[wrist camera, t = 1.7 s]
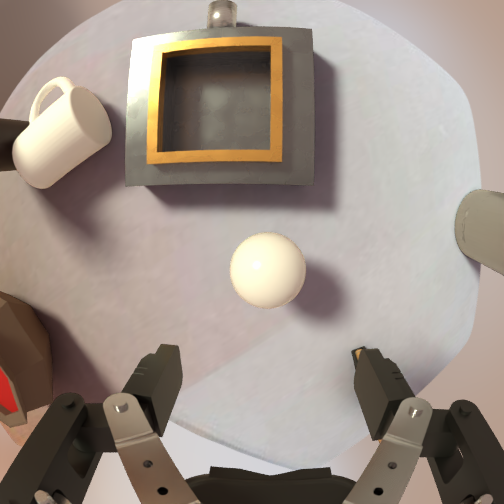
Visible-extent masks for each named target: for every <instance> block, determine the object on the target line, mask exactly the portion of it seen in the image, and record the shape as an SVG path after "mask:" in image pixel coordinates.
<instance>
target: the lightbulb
mask: <svg viewBox="0 0 504 504" xmlns="http://www.w3.org/2000/svg"><path fill="white" fill-rule="evenodd" d="M305 277H306V264H305V259H304V257H303V254H302V252H301V250H300V249H299V248H298V246H297V245H296V244H295V243H294V242H293V241H292V240H290V239H289V238H287V237H285V236H283V235H281V234H278V233H272V232H264V233H258V234H255V235H253V236H250V237H249V238H247V239H246V240H244V241H243V242H242V243H241V244H240V245H239V246H238V247H237V249H236V250H235V252H234V254H233V256H232V259H231V263H230V278H231V282H232V285H233V287H234V289H235V291H236V292H237V294H238V295H239V296H240V297H241V298H242V299H243V300H244V301H246V302H247V303H249V304H251V305H253V306H255V307H259V308H265V309H271V308H277V307H280V306H283V305H285V304H287V303H289V302H290V301H291V300H293V299H294V298H295V297H296V296H297V295H298V293H299V292H300V290H301V289H302V286H303V284H304V281H305Z"/></svg>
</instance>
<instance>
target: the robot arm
mask: <svg viewBox="0 0 504 504" xmlns="http://www.w3.org/2000/svg"><path fill="white" fill-rule="evenodd" d="M455 236H456V240H457V244H458V246H459V248H460V250H461V251H462V252H463V253H464V254H465V255H466V256H468V257H470V258H472V259H474V260H476V261H477V262H479V263H481V264H483V265H485V266H487V267H489V268H491V269H492V270H494V271H496V272H498V273H500V274H502V275H503V276H504V193H500V192H494V191H487V190H481V189H479V190H474V191H472V192H470V193H469V194H468V195H467V196H466V197H465V198H464V199H463V201H462V202H461V204H460V206H459V208H458V211H457V214H456V220H455ZM182 378H183V374H182V366H181V359H180V351H179V347H178V346H177V345H167V344H161V345H160V346H159V348H158V350H157V352H156V353H155V354H151V353H150V354H148V355H147V356H145V357H144V358H142V359H141V361H140V362H139V364H138V366H137V368H136V369H135V370H134V373H133V374H132V375H131V377H130V379H129V380H128V382H127V384H126V385H125V387H124V388H123V390H122V392H121V393H116V394H113V395H111V396H109V397H108V398H106V400H105V401H104V403H99V404H86V403H85V402H84V400H83V398H82V397H81V396H80V395H78V394H76V393H65V394H62V395H60V396H58V397H57V398H56V399H55V400H54V402H53V403H52V404H51V406H50V407H49V409H48V410H47V411H46V413H45V414H44V416H43V417H42V419H41V420H40V422H39V423H38V425H37V426H36V427H35V429H34V430H33V432H32V433H31V435H30V436H29V438H28V439H27V441H26V443H25V444H24V446H23V447H22V449H21V450H20V452H19V453H18V455H17V457H16V458H15V460H14V461H13V463H12V465H11V466H10V468H9V470H8V471H7V473H6V475H5V476H4V478H3V480H2V481H1V483H0V504H82V502H83V500H84V497H85V494H86V492H87V489H88V487H89V485H90V482H91V480H92V477H93V475H94V473H95V470H96V468H97V465H98V463H99V461H100V458H101V456H102V454H103V452H118V454H119V456H120V458H121V461H122V463H123V466H124V468H125V470H126V473H127V475H128V477H129V479H130V482H131V484H132V486H133V488H134V490H135V492H136V494H137V496H138V498H139V500H140V502H141V504H398V503H399V501H400V499H401V497H402V495H403V493H404V491H405V489H406V487H407V484H408V482H409V480H410V478H411V476H412V473H413V471H414V469H415V466H416V464H417V461H418V459H419V457H427V460H428V463H429V465H430V468H431V471H432V474H433V477H434V479H435V482H436V485H437V488H438V491H439V494H440V497H441V500H442V503H443V504H504V450H503V449H502V447H501V445H500V443H499V442H498V440H497V438H496V437H495V435H494V433H493V432H492V430H491V428H490V427H489V425H488V423H487V422H486V420H485V419H484V417H483V415H482V414H481V412H480V411H479V409H478V407H477V406H476V405H475V404H474V403H472V402H470V401H467V400H457V401H455V402H453V404H452V405H451V407H450V409H449V410H444V409H432V407H431V405H430V404H429V403H428V402H427V401H425V400H424V399H421V398H416V397H415V395H414V394H413V392H412V390H411V388H410V387H409V385H408V383H407V382H406V380H405V379H404V376H403V375H402V373H400V370H399V368H398V366H397V365H396V364H395V363H394V362H393V361H391V360H390V359H389V358H386V359H384V358H383V356H382V354H381V352H380V351H379V349H362V350H361V351H360V354H359V359H358V363H357V367H356V372H355V376H354V389H355V392H356V395H357V397H358V400H359V403H360V406H361V409H362V412H363V414H364V417H365V420H366V423H367V426H368V429H369V432H370V435H371V438H372V440H373V441H375V440H381V439H382V441H381V443H380V445H379V446H378V448H377V450H376V452H375V453H374V455H373V457H372V458H371V460H370V462H369V464H368V465H367V467H366V468H365V470H364V472H363V473H362V475H361V477H360V478H359V480H358V481H357V482H355V481H353V480H351V479H348V478H345V477H342V476H337V475H331V469H330V467H326V468H313V469H300V470H296V471H292V472H287V473H282V474H278V475H270V476H269V475H265V474H260V473H255V472H251V471H247V470H243V469H236V468H223V467H212V466H211V467H210V472H209V474H203V475H198V476H194V477H191V478H189V479H186V480H184V478H183V477H182V475H181V474H180V472H179V470H178V469H177V467H176V466H175V464H174V462H173V461H172V459H171V457H170V456H169V454H168V452H167V451H166V449H165V447H164V446H163V444H162V442H161V440H160V438H159V437H162V436H163V433H164V431H165V428H166V426H167V423H168V420H169V417H170V415H171V412H172V409H173V407H174V404H175V401H176V399H177V396H178V393H179V391H180V388H181V385H182ZM458 448H459V449H460V451H461V453H462V455H463V457H462V455H461V453H460V451H459V449H458Z"/></svg>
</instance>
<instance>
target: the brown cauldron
mask: <svg viewBox="0 0 504 504" xmlns="http://www.w3.org/2000/svg"><path fill="white" fill-rule="evenodd" d="M51 403H53V386H52V355H51V348H50V340H49V334H48V332H47V331H46V329H45V328H44V326H43V325H42V323H41V322H40V320H39V319H38V317H37V316H36V314H35V312H34V311H33V309H32V308H31V306H30V305H28V304H26V303H24V302H22V301H20V300H18V299H17V298H15V297H13V296H11V295H9V294H6V293H3V292H1V291H0V421H2V422H3V423H4V424H6V425H7V426H9V427H10V428H11V427H15V426H20V425H24V424H27V412H28V411H31V410H34V409H37V408H40V407H42V406H45V405H48V404H51Z"/></svg>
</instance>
